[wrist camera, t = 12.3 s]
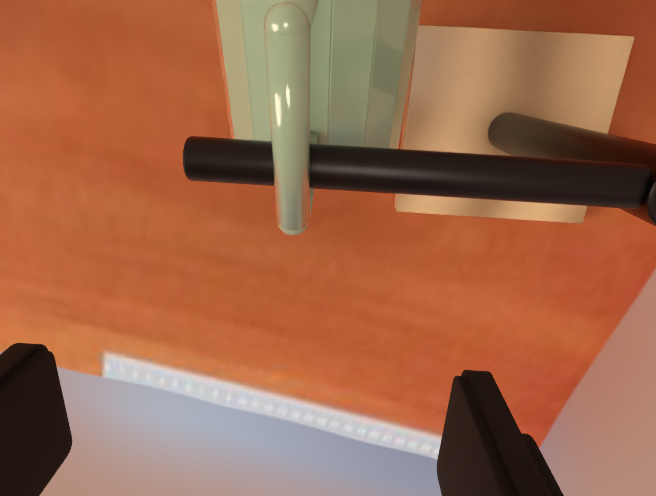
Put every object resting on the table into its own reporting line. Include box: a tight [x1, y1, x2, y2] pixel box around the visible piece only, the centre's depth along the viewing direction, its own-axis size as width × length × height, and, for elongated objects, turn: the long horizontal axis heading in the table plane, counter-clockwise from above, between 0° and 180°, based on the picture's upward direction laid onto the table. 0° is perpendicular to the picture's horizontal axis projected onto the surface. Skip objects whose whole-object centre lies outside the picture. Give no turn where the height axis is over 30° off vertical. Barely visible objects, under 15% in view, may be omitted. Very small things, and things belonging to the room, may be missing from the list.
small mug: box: [212, 0, 422, 236], centre depth 14 cm, size 11×7×9 cm
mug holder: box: [183, 25, 656, 226], centre depth 18 cm, size 19×10×15 cm, turn 87°
